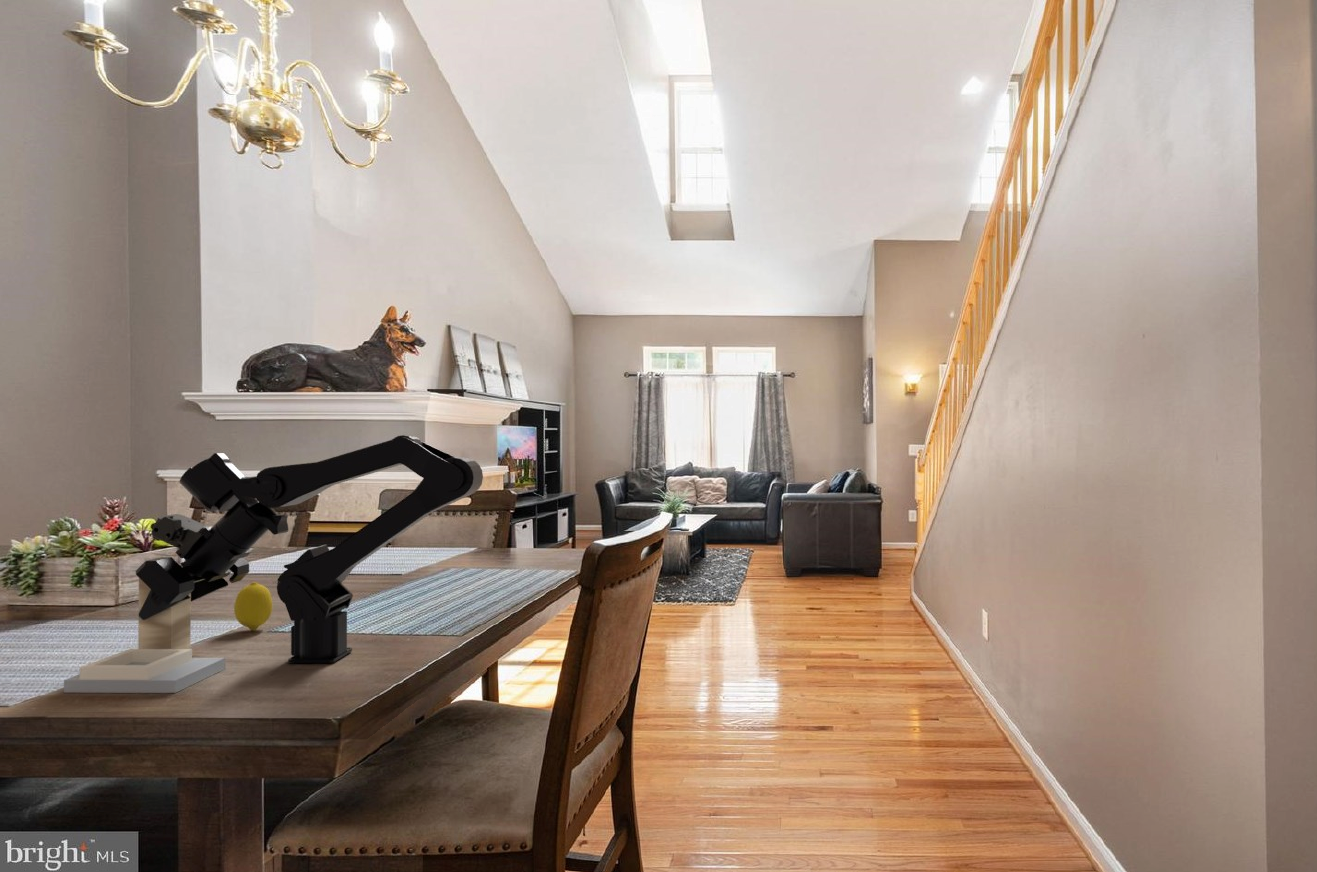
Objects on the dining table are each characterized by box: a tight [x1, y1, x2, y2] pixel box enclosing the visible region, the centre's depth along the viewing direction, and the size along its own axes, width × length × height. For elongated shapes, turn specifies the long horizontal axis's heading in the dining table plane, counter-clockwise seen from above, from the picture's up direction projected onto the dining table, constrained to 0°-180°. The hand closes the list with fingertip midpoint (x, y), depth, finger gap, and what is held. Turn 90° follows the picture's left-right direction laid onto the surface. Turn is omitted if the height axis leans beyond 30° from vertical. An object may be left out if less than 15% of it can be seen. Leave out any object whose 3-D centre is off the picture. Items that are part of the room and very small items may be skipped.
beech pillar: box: [137, 577, 192, 649], centre depth 106 cm, size 4×4×12 cm
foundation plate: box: [63, 648, 226, 694], centre depth 97 cm, size 14×10×3 cm
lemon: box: [233, 581, 274, 631], centre depth 123 cm, size 6×6×8 cm
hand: (155, 612), depth 106 cm, fingers open, 6 cm apart
